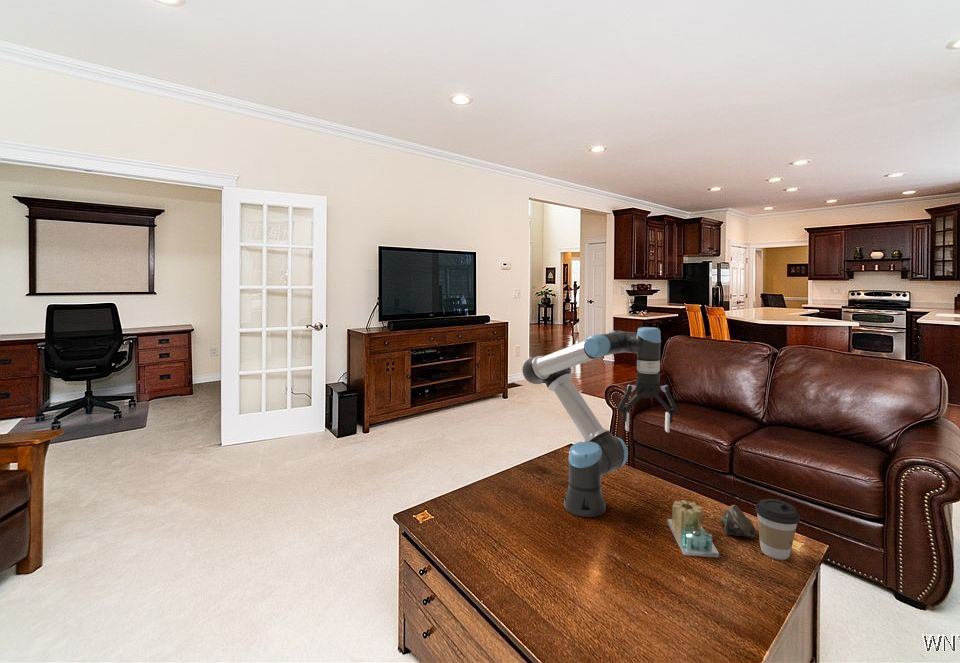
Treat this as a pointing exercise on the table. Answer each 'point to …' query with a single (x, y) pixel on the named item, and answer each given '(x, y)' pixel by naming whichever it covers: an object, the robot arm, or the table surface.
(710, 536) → the carrier
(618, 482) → the table surface
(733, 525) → the grey rock
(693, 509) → the gear
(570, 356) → the robot arm
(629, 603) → the table surface
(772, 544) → the coffee cup
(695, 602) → the table surface
